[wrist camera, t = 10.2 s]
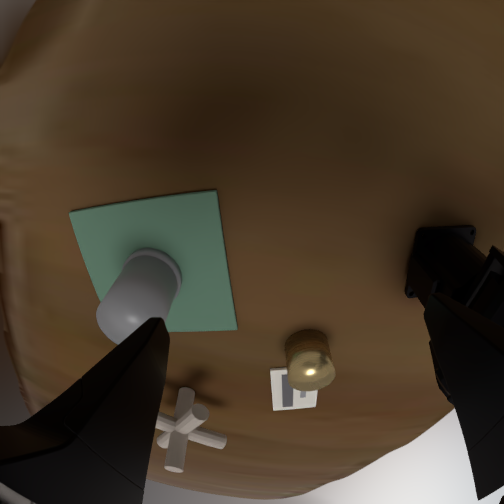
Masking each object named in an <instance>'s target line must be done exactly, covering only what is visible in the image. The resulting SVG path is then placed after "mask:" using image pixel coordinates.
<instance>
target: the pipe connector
mask: <svg viewBox="0 0 504 504" xmlns="http://www.w3.org/2000/svg"><path fill="white" fill-rule="evenodd" d="M194 396H195V391H194V390H192V389H191V388H187V387H182V388H180V389H179V393H178V398H177V403H176V408H175V413H174V417H172V416H169V415H167V414H164V413H162V412H159V413H158V417H157V422H156V427H155V428H158V429H161V430H163V431H164V432H163V433H161V434H160V435H159V436H158V437H157V443H158V445H159V446H160V447H162V448H168V449H167V454H166V460H165V466H164V468H165V469H166V470H169V471H172V472H183V468H184V461H185V454H186V447H187V440H188V439H189V440H192V441H195V442H198V443H201V444H205V445H208V446H211V447H215V448H219V449H223V448H224V446H225V444H226V441H227V436H226V435H225V434H221V433H218V432H215V431H211V430H208V429H205V428H202V427H199V425H200V424H202V423H203V422H204V421H206V420H207V419H208V417H209V411H208V409H207V408H206V407H205V406H204V405H202V404H195V405H193V402H194Z"/></svg>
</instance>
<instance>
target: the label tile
mask: <svg viewBox="0 0 504 504" xmlns="http://www.w3.org/2000/svg"><path fill="white" fill-rule="evenodd" d="M270 374H271V387H272V400H273V411H274V410H288V409H299V408H309V407H315V406H316V399H317V391H318V390H315V391H299V390H296V389H294V388H292V387H291V386H290V385H289V383H288V375H287V367H284V368H270Z"/></svg>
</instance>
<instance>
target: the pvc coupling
mask: <svg viewBox="0 0 504 504" xmlns="http://www.w3.org/2000/svg"><path fill="white" fill-rule="evenodd" d="M181 285H182V273H181V270H180V267H179V266H178V264H177V263H176V261H175V260H174V259H173V258H172V257H171V256H170V255H168V254H167V253H165V252H163V251H161V250H158V249H155V248H141V249H138V250H136V251H134V252H133V253H132V254H131V255H130V256H129V257H128V258H127V260H126V261H125V263H124V264H123V267H122V272H121V273H120V274H119V276H118V277H117V279H116V280H115V282H114V283H113V285H112V286H111V288H110V289H109V291H108V292H107V294H106V296H105V297H104V299H103V300H102V302H101V303H100V305H99V307H98V309H97V313H96V317H97V322H98V324H99V326H100V328H101V330H102V331H103V332H104V334H105V335H106V336H107V337H108V338H109V339H110V340H112V341H113V342H115V343H116V344H118V345H119V344H120V343H121V342H122V341H123V340H124V339H126V338H127V337H128V336H129V335H130V334H131V333H133V332H134V331H135V330H136V329H137V328H138V327H139V326H141V325H142V324H143V323H144V322H145V321H146V320H148V319H149V318H151V317H161V318H163V320H164V322H166V319H167V316H168V314H169V311H170V308H171V305H172V303H173V300H174V299H175V298H176V297H177V296H178V294H179V291H180V288H181Z"/></svg>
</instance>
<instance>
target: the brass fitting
mask: <svg viewBox="0 0 504 504" xmlns="http://www.w3.org/2000/svg"><path fill="white" fill-rule="evenodd" d="M285 354H286V365H287V375H288V383H289V385H290V386H291V387H292V388H294V389H296V390H299V391H315V390H319V389H321V388H324V387H326V386H327V385H329V384H330V383H331V382H332V381H333V379H334V378H335V369H334V365H333V361H332V357H331V353H330V349H329V345H328V341H327V338H326V336H325V335H324V334H323V333H322V332H320V331H317V330H310V329H309V330H302V331H299V332H296V333H294V334H293V335H291V336H290V337H289V338H288V339H287V341H286V343H285Z"/></svg>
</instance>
